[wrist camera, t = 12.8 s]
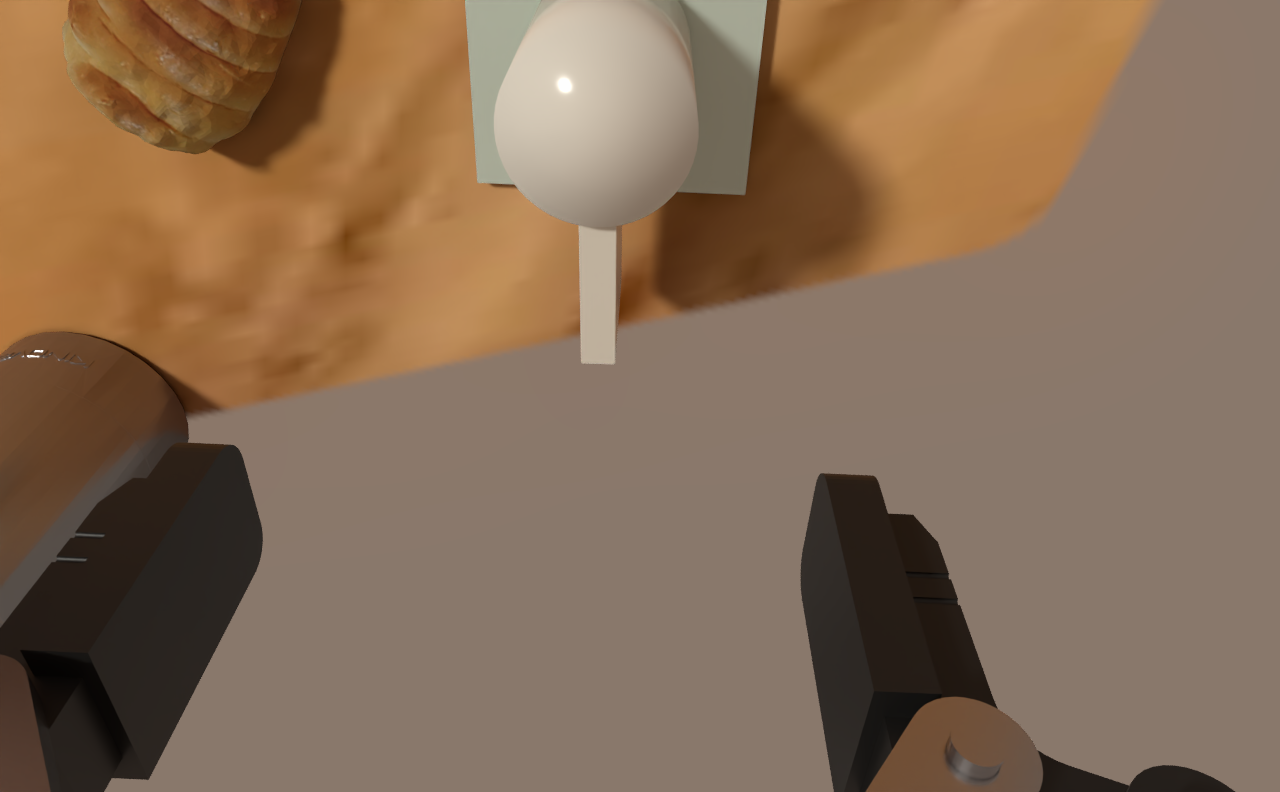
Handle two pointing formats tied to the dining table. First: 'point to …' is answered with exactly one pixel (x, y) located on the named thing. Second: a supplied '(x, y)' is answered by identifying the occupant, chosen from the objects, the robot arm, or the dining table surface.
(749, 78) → the trivet
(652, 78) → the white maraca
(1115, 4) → the dining table surface
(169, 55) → the pastry
